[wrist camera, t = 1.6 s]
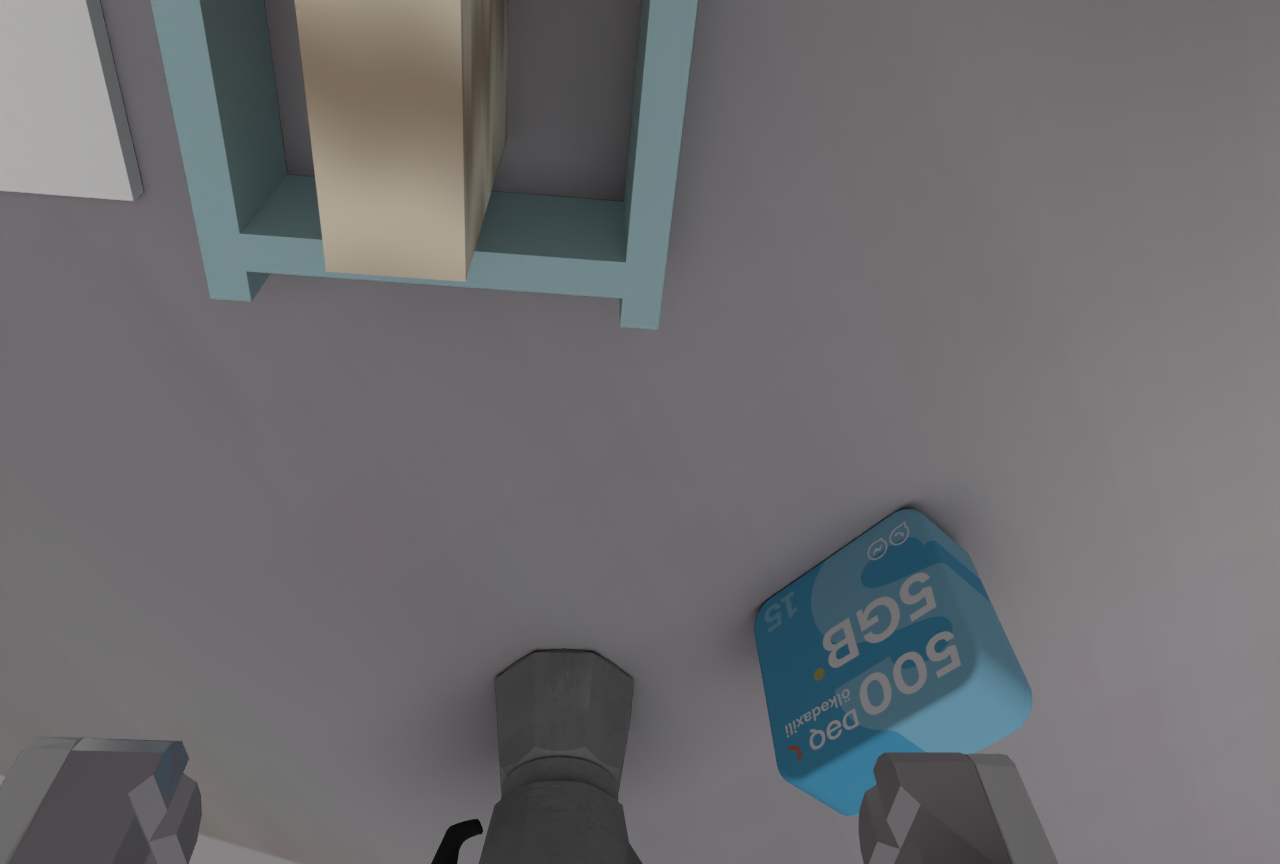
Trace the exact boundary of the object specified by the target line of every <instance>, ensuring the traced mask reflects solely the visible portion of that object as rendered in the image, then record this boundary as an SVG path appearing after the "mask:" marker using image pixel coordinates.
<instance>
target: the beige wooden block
mask: <svg viewBox="0 0 1280 864" xmlns="http://www.w3.org/2000/svg"><path fill="white" fill-rule="evenodd" d="M295 8H296V17H297V26H298V34H299V43H300V52H301V60H302V69H303V77H304V86H305V95H306V103H307V112H308V121H309V129H310V138H311V146H312V155H313V164H314V172H315V181H316V189H317V198H318V207H319V215H320V224H321V233H322V241H323V250H324V258H325V267H326V272H336V273H350V274H364V275H377V276H391V277H405V278H419V279H433V280H446V281H460V282H466V279H467V276H468V272H469V269H470V265H471V262H472V258H473V255H474V251H475V248H476V244H477V241H478V237H479V233H480V230H481V226H482V223H483V219H484V216H485V212H486V209H487V205H488V202H489V198H490V195H491V191H492V188H493V184H494V181H495V177H496V174H497V170H498V166H499V163H500V159H501V156H502V152H503V149H504V145H505V142H506V125H507V14H508V0H295Z"/></svg>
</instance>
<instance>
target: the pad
mask: <svg viewBox="0 0 1280 864" xmlns="http://www.w3.org/2000/svg"><path fill="white" fill-rule="evenodd" d="M0 191H10V192H23V193H36V194H49V195H62V196H75V197H88V198H101V199H114V200H127V201H134V200H135V199H137V198H138V197H139V196H140V195H141V194H142V193H143V192H144V191H143V186H142V182H141V178H140V173H139V169H138V165H137V160H136V156H135V152H134V147H133V143H132V139H131V134H130V130H129V126H128V121H127V117H126V113H125V108H124V104H123V100H122V95H121V91H120V86H119V82H118V78H117V73H116V69H115V65H114V60H113V56H112V52H111V47H110V43H109V39H108V34H107V30H106V26H105V21H104V17H103V13H102V8H101V4H100V0H0Z"/></svg>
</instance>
